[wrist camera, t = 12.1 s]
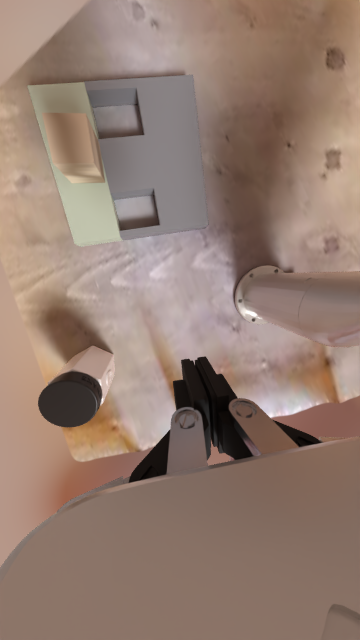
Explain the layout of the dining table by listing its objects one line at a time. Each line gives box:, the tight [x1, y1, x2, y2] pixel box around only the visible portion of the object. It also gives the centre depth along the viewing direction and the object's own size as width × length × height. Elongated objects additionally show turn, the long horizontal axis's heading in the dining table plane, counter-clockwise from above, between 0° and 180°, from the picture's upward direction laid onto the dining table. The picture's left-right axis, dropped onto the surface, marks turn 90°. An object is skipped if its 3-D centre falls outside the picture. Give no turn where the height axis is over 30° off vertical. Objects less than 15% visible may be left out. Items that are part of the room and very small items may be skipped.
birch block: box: [42, 113, 105, 183], centre depth 24 cm, size 5×5×5 cm
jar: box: [38, 346, 115, 427], centre depth 31 cm, size 9×8×12 cm
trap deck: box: [27, 75, 209, 246], centre depth 28 cm, size 23×20×2 cm
